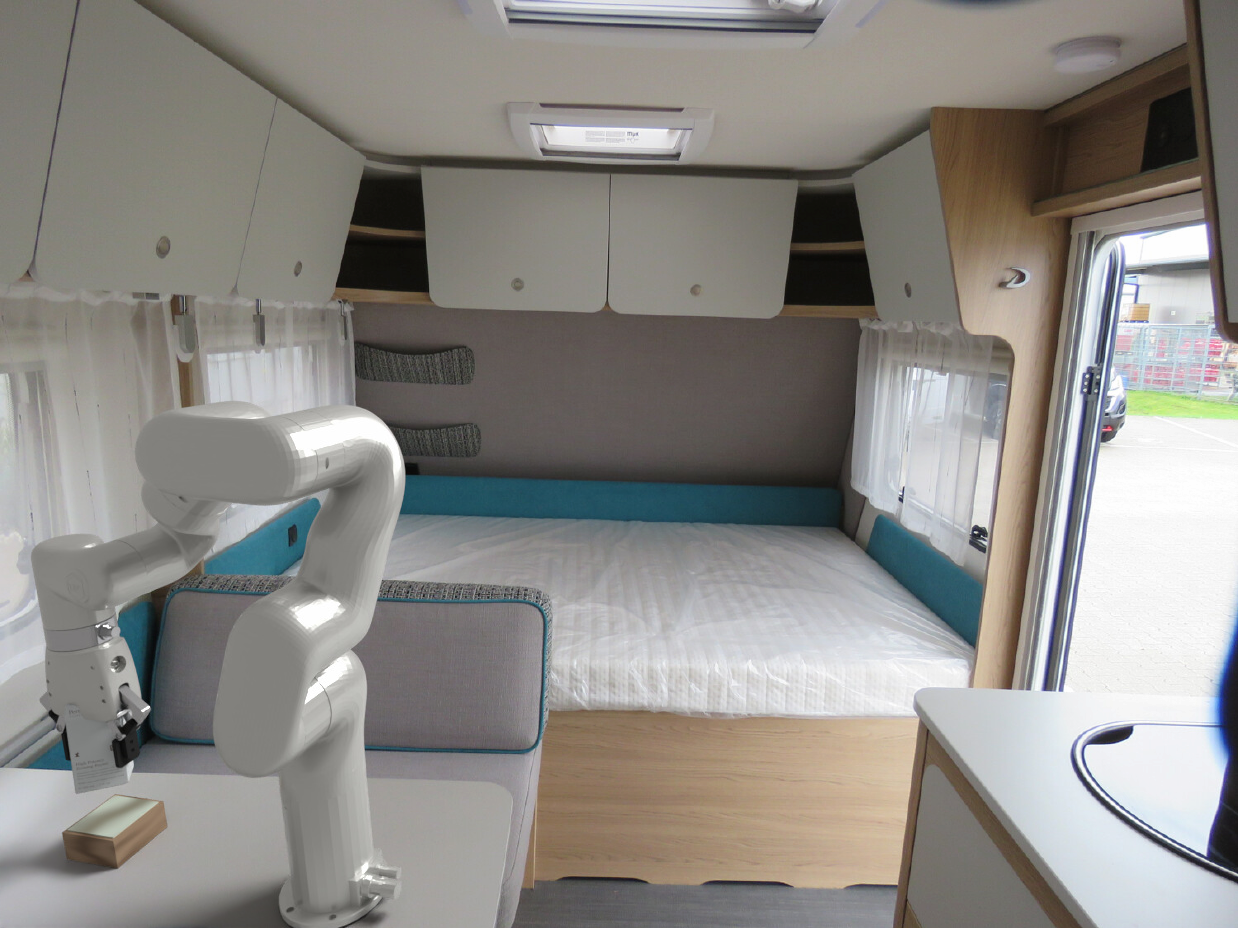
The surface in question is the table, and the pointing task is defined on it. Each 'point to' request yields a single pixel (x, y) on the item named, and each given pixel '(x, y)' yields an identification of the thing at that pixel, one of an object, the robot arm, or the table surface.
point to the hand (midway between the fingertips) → (103, 757)
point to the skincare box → (93, 753)
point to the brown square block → (115, 830)
